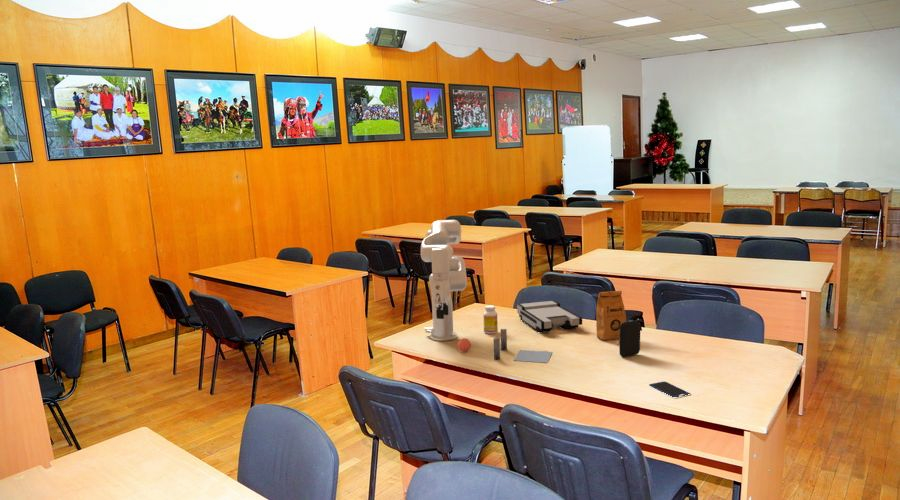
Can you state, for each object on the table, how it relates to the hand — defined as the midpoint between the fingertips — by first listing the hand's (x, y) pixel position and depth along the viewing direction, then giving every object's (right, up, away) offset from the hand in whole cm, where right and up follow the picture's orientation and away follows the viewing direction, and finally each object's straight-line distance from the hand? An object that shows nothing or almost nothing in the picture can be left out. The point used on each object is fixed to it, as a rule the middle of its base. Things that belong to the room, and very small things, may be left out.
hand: (442, 316), depth 265 cm
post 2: (+27, -15, +1) cm, 31 cm away
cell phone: (+81, -21, -50) cm, 97 cm away
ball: (+10, -12, -1) cm, 16 cm away
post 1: (+23, -17, -12) cm, 31 cm away
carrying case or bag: (+78, -15, -13) cm, 81 cm away
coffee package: (+76, -11, +11) cm, 78 cm away
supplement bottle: (+23, -11, +27) cm, 37 cm away
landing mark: (+38, -16, -10) cm, 42 cm away
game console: (+52, -9, +37) cm, 64 cm away
